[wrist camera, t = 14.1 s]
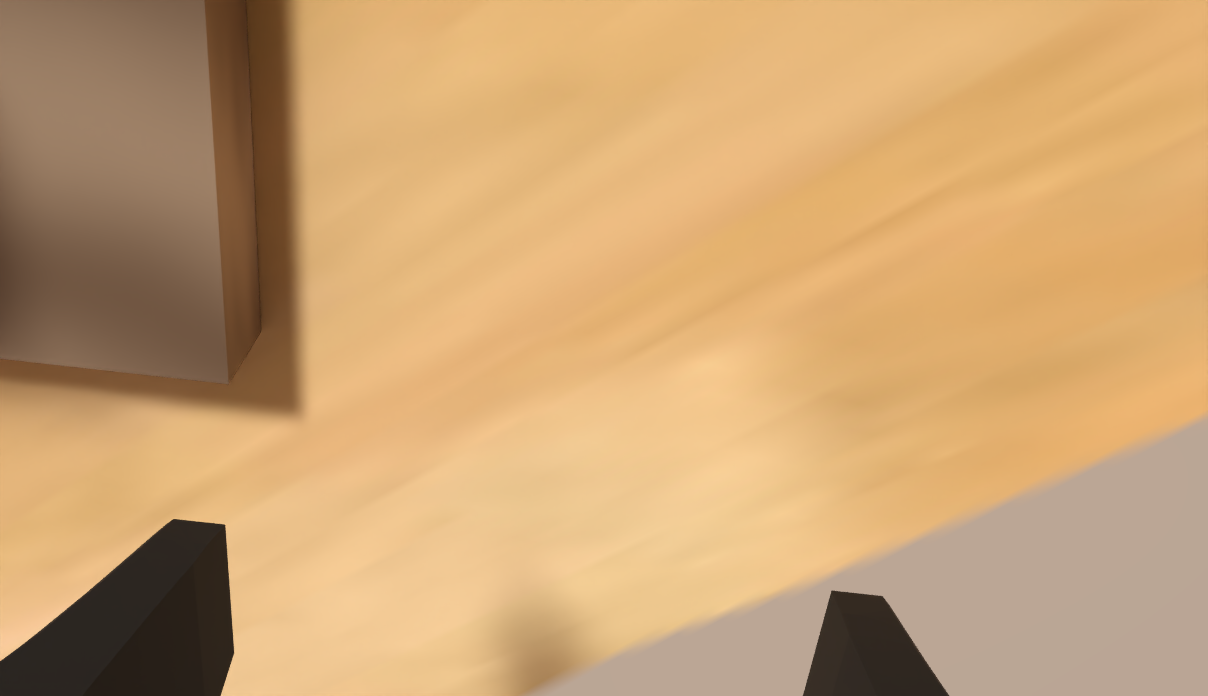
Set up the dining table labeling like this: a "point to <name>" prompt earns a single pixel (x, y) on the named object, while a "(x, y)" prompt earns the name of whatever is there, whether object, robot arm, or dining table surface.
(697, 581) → the dining table surface
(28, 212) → the walnut stand
